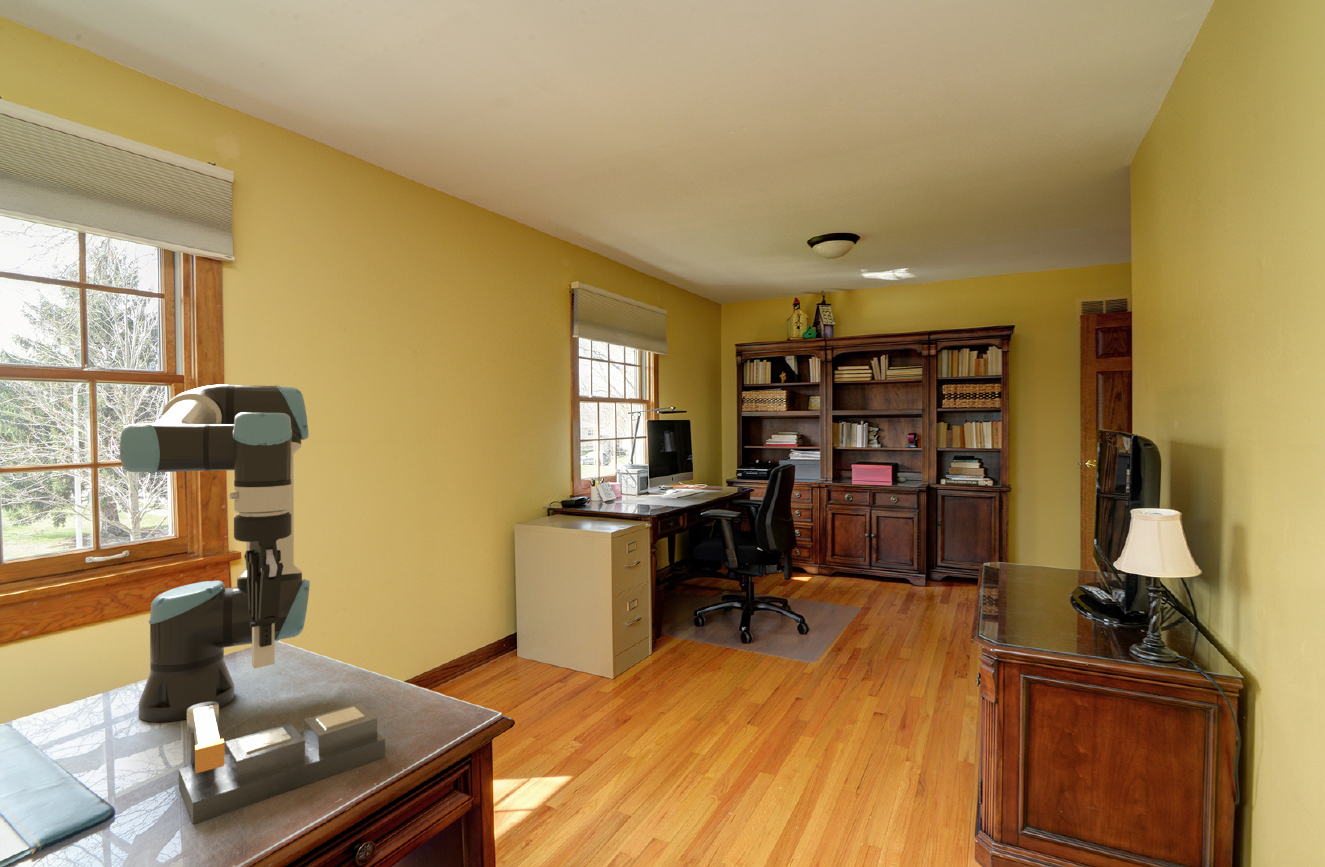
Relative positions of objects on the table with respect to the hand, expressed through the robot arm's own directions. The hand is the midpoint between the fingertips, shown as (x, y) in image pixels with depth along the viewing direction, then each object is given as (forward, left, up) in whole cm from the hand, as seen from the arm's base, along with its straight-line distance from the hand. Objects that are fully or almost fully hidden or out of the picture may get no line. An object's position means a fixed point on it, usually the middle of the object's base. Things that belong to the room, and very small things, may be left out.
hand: (263, 664), depth 99 cm
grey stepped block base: (0, +3, -18) cm, 18 cm away
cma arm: (0, -7, -10) cm, 12 cm away
